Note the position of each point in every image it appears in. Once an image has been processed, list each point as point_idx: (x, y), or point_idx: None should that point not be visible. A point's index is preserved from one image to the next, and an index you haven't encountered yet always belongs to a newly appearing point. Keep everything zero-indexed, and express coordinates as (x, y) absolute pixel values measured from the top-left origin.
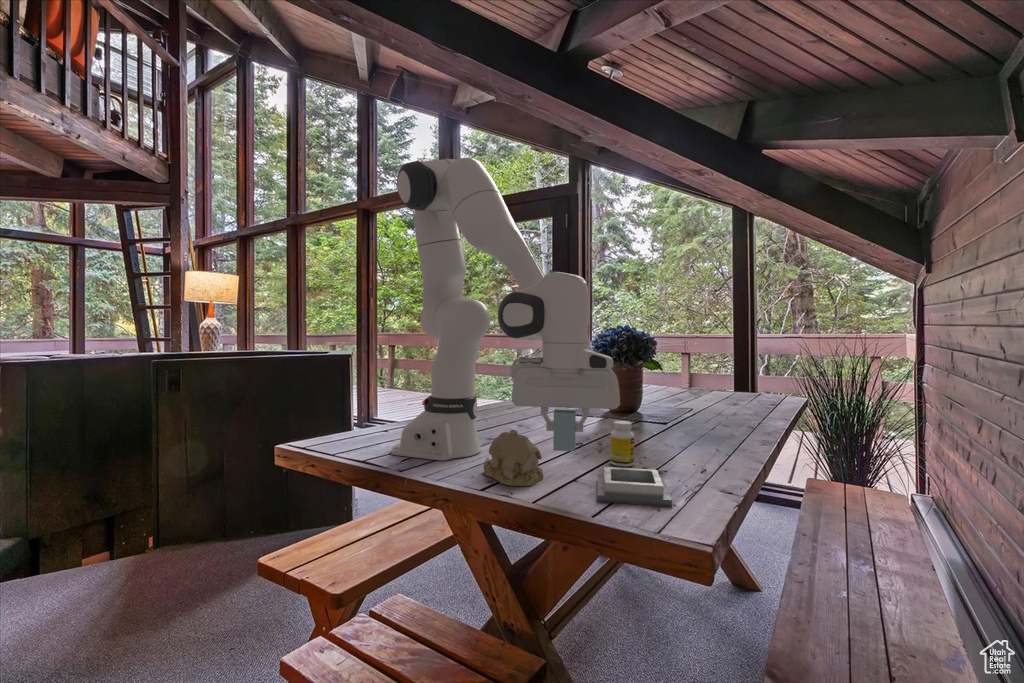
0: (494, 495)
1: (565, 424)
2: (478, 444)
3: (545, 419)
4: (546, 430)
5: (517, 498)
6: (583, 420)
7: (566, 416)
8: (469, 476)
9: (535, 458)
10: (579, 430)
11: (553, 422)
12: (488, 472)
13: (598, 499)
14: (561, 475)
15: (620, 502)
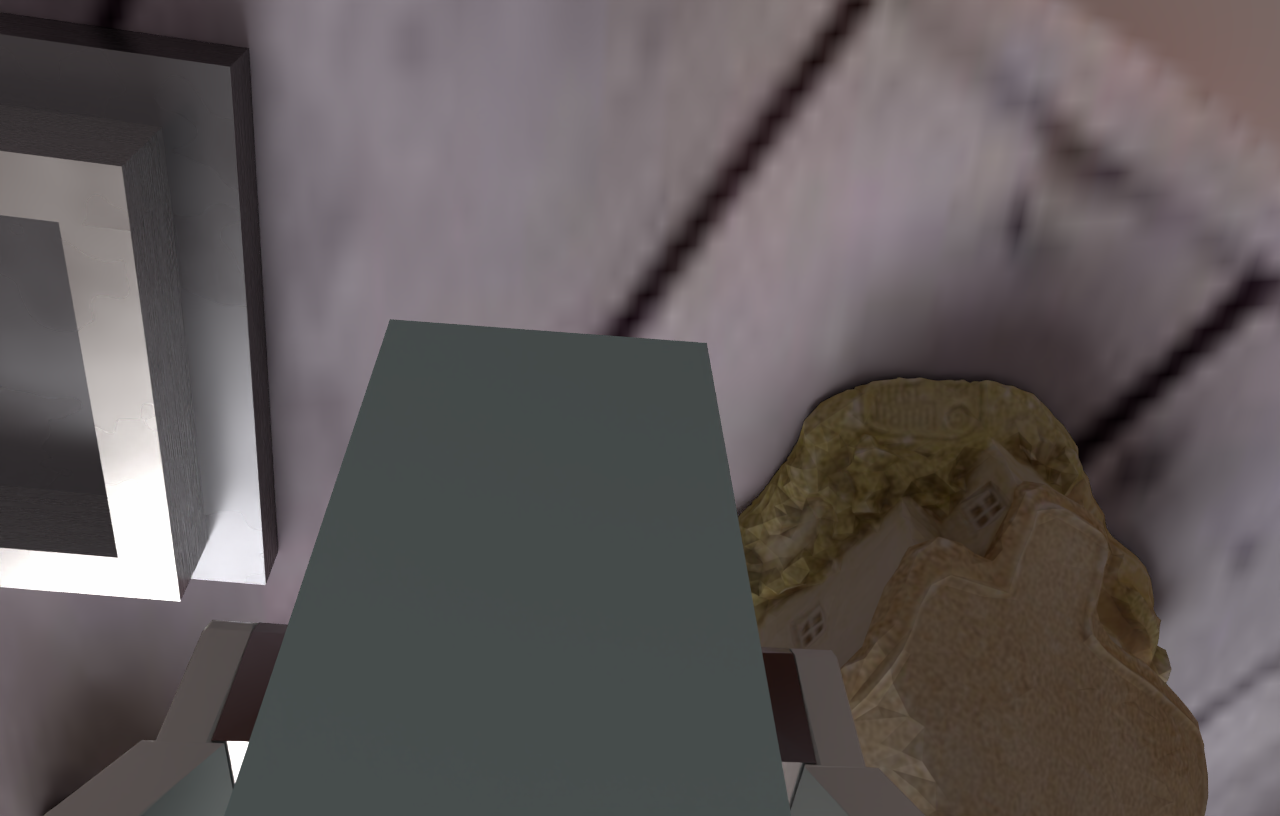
0: (1180, 163)
1: (510, 615)
2: None
3: (895, 803)
4: (828, 653)
5: (990, 98)
6: (129, 779)
7: (474, 756)
8: (1268, 560)
9: None
10: (270, 633)
11: None
12: (1143, 583)
13: (231, 54)
14: None
15: (16, 18)
